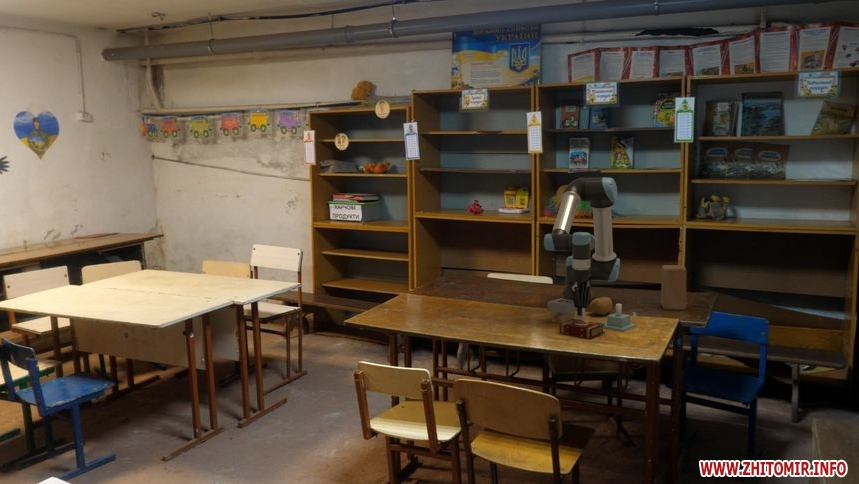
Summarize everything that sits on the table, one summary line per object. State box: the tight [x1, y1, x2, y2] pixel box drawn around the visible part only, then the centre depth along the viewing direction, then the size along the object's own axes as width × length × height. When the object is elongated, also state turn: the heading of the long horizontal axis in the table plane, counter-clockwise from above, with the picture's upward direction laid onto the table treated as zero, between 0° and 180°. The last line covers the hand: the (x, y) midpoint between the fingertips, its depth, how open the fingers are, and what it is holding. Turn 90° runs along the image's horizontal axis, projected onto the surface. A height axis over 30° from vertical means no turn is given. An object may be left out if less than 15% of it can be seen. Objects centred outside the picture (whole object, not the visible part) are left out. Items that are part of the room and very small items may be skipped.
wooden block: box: [660, 264, 687, 311], centre depth 315 cm, size 10×10×20 cm
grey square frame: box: [547, 297, 577, 314], centre depth 295 cm, size 10×10×4 cm
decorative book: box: [559, 318, 606, 339], centre depth 274 cm, size 11×16×5 cm
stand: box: [551, 301, 575, 324], centre depth 295 cm, size 7×7×9 cm
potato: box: [588, 296, 613, 316], centre depth 306 cm, size 10×14×8 cm
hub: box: [603, 303, 638, 333], centre depth 282 cm, size 11×11×10 cm
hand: (581, 322), depth 284 cm, fingers closed
